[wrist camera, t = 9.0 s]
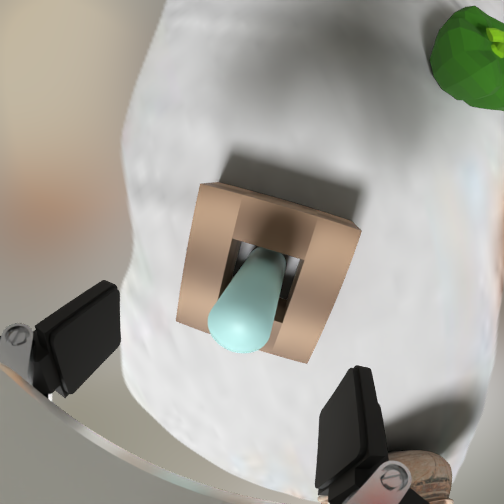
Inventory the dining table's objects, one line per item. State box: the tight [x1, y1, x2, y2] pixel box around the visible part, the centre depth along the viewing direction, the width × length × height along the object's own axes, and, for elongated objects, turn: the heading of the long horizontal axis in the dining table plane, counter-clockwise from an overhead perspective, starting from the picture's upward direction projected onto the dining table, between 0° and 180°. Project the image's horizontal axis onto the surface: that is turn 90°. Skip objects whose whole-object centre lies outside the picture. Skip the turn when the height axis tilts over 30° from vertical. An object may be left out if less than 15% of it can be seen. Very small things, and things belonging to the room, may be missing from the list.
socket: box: [176, 182, 362, 364], centre depth 21 cm, size 11×11×4 cm
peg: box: [208, 247, 286, 353], centre depth 18 cm, size 3×3×10 cm
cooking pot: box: [318, 450, 453, 504], centre depth 22 cm, size 25×19×12 cm
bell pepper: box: [430, 6, 504, 111], centre depth 10 cm, size 8×8×10 cm
